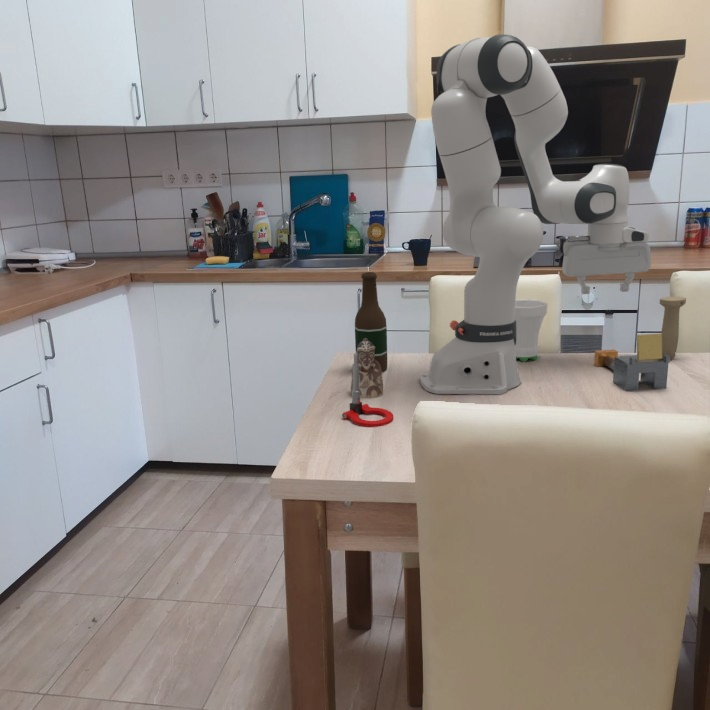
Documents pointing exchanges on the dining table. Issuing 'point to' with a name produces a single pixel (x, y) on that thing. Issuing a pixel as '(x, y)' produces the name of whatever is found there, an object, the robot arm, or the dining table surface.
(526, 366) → the dining table surface
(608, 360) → the orange piece
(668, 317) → the handle
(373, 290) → the beer bottle
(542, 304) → the cup
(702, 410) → the dining table surface
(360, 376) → the figurine
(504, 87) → the robot arm
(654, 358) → the keeper flap
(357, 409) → the tow hook
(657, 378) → the block
